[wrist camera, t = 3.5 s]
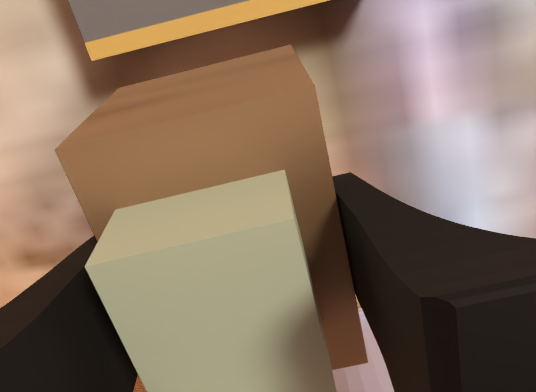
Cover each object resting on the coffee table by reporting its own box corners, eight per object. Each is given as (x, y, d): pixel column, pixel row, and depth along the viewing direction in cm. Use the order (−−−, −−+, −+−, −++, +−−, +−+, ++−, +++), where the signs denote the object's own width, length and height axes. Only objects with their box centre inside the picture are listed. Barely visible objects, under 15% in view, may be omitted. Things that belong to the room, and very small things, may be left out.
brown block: (334, 252, 16) (368, 362, 12) (192, 283, 16) (172, 403, 12) (291, 44, 13) (314, 85, 9) (118, 88, 13) (54, 149, 9)
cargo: (322, 323, 11) (336, 393, 9) (177, 353, 11) (164, 427, 9) (284, 169, 9) (294, 218, 8) (115, 209, 10) (84, 266, 8)
